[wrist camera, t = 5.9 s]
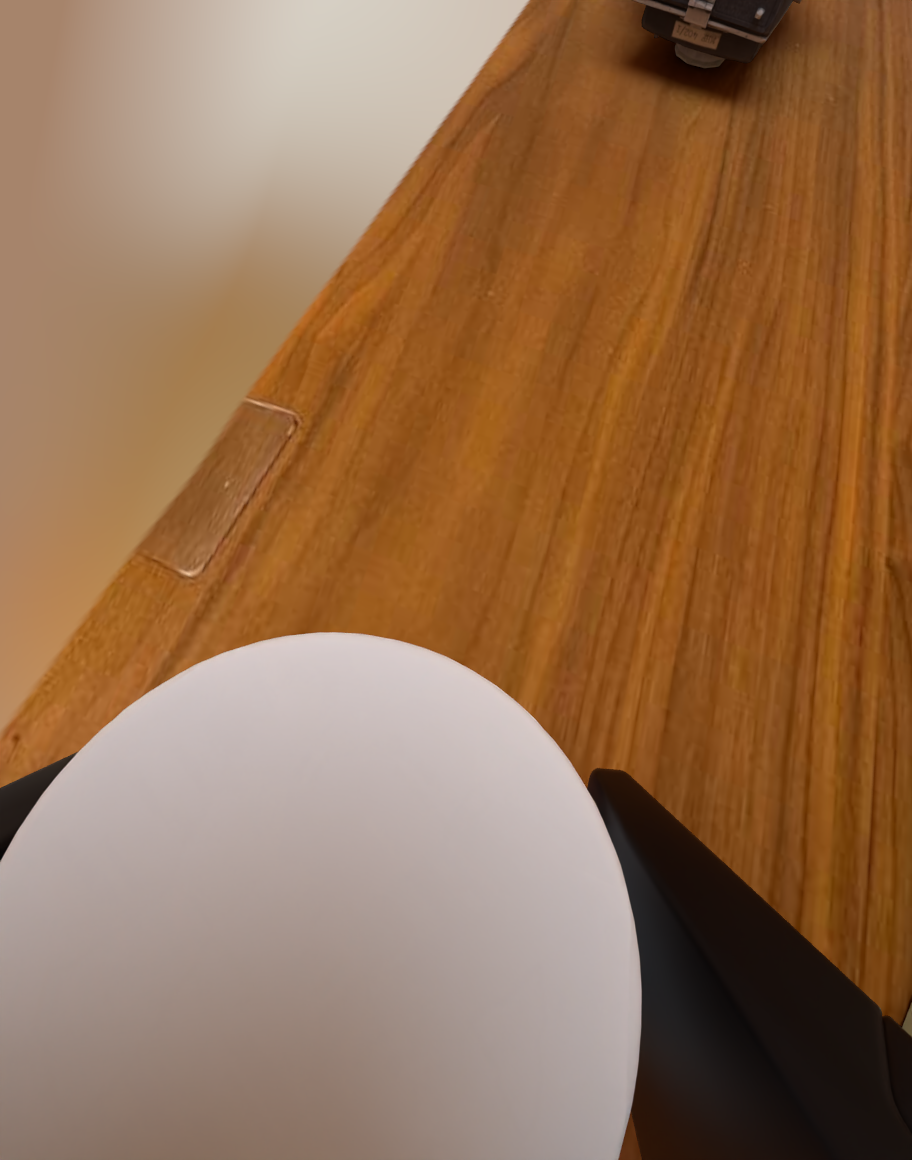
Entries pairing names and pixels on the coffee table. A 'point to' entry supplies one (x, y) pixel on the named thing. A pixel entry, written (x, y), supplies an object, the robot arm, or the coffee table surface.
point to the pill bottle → (317, 926)
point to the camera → (714, 27)
